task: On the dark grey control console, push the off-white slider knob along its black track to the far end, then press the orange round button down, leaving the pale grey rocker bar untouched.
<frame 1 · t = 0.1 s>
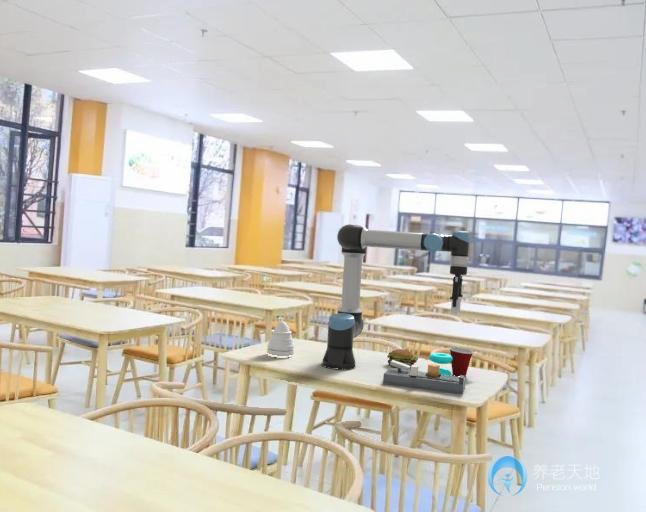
hand: (455, 312, 270), 28 cm above the table, tool pointing down, fingers open, 13 cm apart
slider knob: (414, 370, 245), point 6 cm above the table, slide at 0.0 cm
orange button: (433, 371, 249), point 6 cm above the table, slide at 0.0 cm
honey pot: (280, 356, 289), on the table
food: (401, 366, 282), on the table
donuts: (439, 377, 265), on the table
plastic cup: (459, 376, 270), on the table
grey rocker: (400, 365, 254), point 6 cm above the table, hinge at 12.0°
console panel: (424, 385, 248), on the table
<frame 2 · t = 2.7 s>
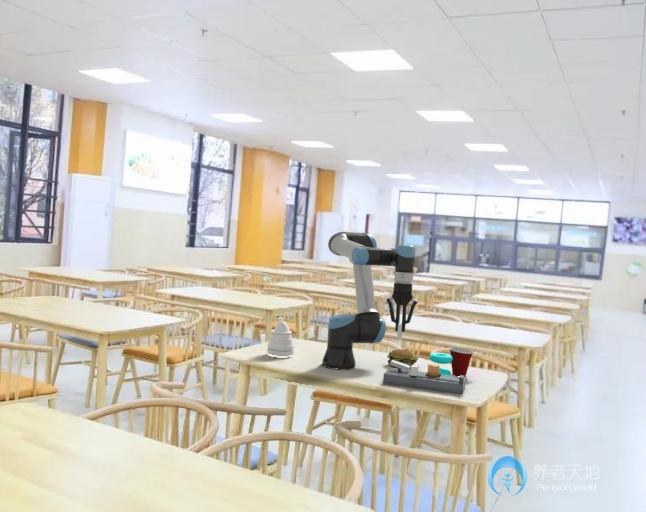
hand: (399, 339, 247), 18 cm above the table, tool pointing down, fingers closed
nothing on the table moved.
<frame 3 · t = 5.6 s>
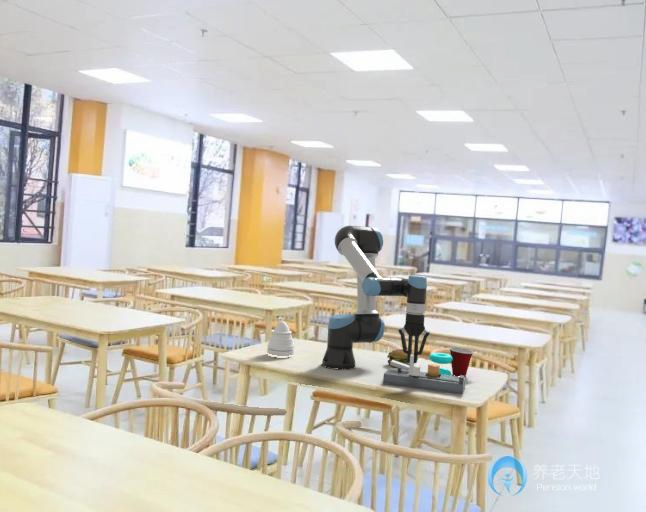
hand: (411, 370, 245), 6 cm above the table, tool pointing down, fingers closed
slider knob: (416, 370, 245), point 6 cm above the table, slide at 0.8 cm, touching gripper
everything else where it was.
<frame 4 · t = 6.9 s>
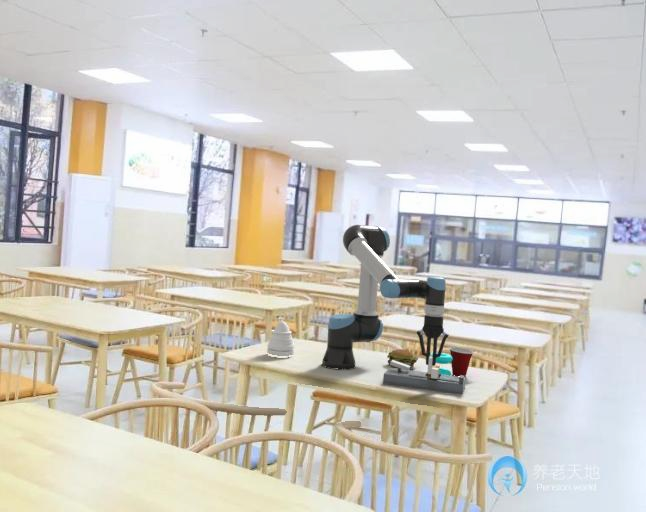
hand: (430, 373, 243), 6 cm above the table, tool pointing down, fingers closed
slider knob: (434, 372, 243), point 6 cm above the table, slide at 8.4 cm, touching gripper
everything else where it was.
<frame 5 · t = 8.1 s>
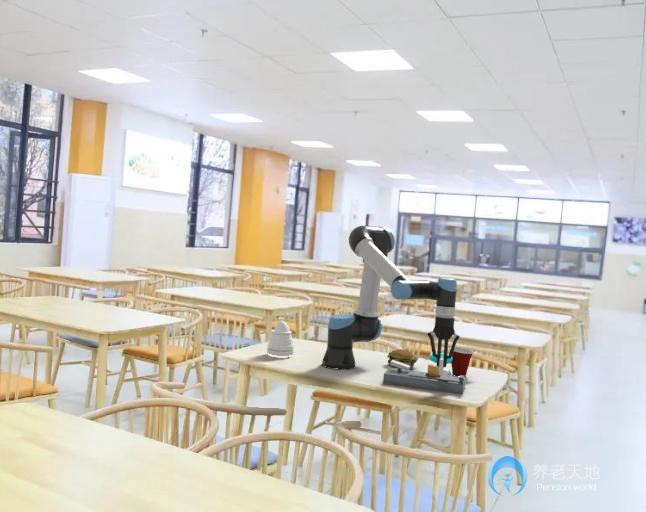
hand: (440, 374, 242), 6 cm above the table, tool pointing down, fingers closed
slider knob: (445, 374, 241), point 6 cm above the table, slide at 12.7 cm, touching gripper
everything else where it was.
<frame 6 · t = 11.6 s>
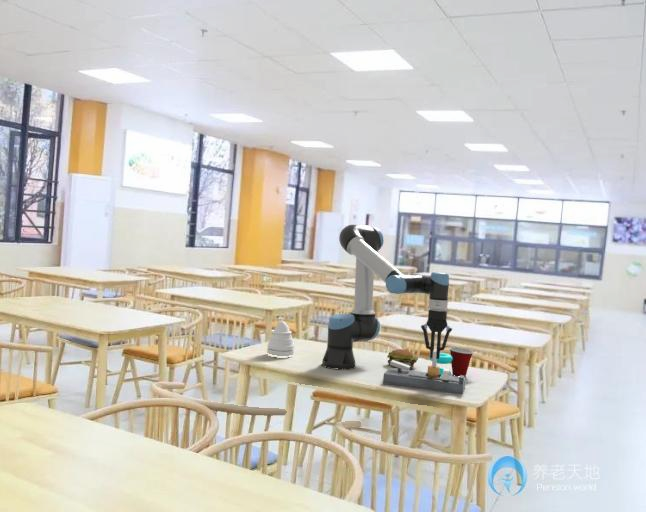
hand: (434, 366, 249), 8 cm above the table, tool pointing down, fingers closed
slider knob: (446, 374, 241), point 6 cm above the table, slide at 12.9 cm
orange button: (433, 372, 249), point 5 cm above the table, slide at 0.5 cm, touching gripper
everything else where it was.
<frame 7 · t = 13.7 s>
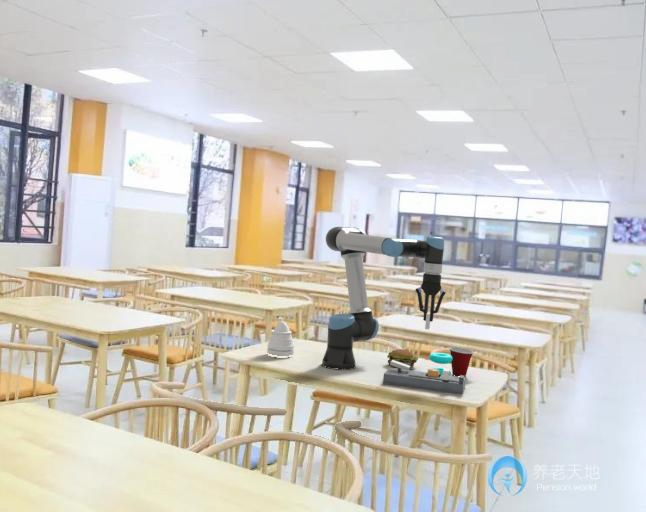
hand: (427, 328, 254), 22 cm above the table, tool pointing down, fingers closed
orange button: (433, 375, 249), point 4 cm above the table, slide at 2.0 cm
everything else where it was.
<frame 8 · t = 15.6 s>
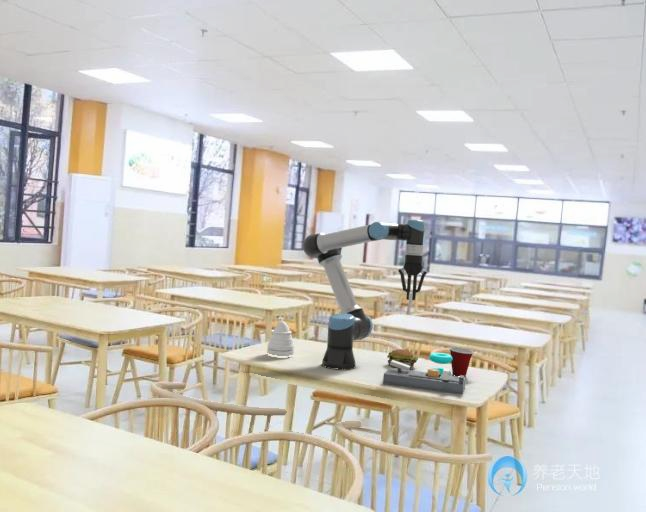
hand: (410, 307, 268), 29 cm above the table, tool pointing down, fingers closed
nothing on the table moved.
at the end: slider knob slide at 12.9 cm; orange button slide at 2.0 cm; grey rocker at +12° (first picture: +12°) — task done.
